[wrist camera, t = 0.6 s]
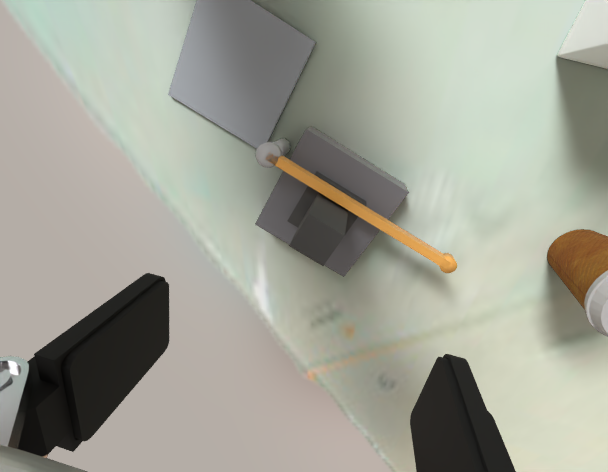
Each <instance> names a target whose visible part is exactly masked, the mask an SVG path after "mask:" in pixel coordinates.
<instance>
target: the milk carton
mask: <svg viewBox="0 0 608 472" xmlns="http://www.w3.org/2000/svg"><path fill="white" fill-rule="evenodd" d="M557 56H558V57H561V58H565V59H569V60H573V61H577V62H582V63H586V64H590V65H594V66H598V67H602V68H606V69H608V0H585V2H584V4H583V6H582V8H581V10H580V12H579V14H578V16H577V18H576V20H575V21H574V23H573V25H572V27H571V29H570V31H569V33H568V35H567V37H566V39H565V41H564V43H563V45H562V46H561V48H560V50H559V52H558V54H557Z"/></svg>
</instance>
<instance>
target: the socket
mask: <svg viewBox="0 0 608 472" xmlns="http://www.w3.org/2000/svg"><path fill="white" fill-rule="evenodd" d="M274 143H276V144H278V145H279V147H280V148H281V151H282V156H284V155H285V154H287V153H288V152H289V150H290V143H289V142H288V141H287V140H286V139H279V140H277V141H275V142H274ZM290 160H291V161H292V162H294V163H296V164H297V165H299V166H300V167H302V168H304V169H305V170H307V171H309V172H310V173H312V174H314V175H315V173H316V171H318V172H319V173H321V174H323V175H324V176H326V177H328V178H329V179H331V180H332V181H334V182H336V183H337V184H339V185H341V186H342V187H344V188H346V189H347V190H349V191H350V192H352V193H354V194H355V195H357V196H359V197H360V198H362V199H363V200H365V201H366V207H367V208H369V209H371V210H372V211H374V212H376V213H377V214H379V215H381V216H382V217H384V218H385V219H387V220H388V219H389V218H390V216H391V215H392V214H393V212H394V211H395V210H396V209H397V207H398V206H399V205H400V203H401V202H402V201H403V199H404V198H405V197H406V196H407V194H408V193H409V192H408V190H407V188H406V186H405V184H404V183H402V182H401V181H399V180H397V179H396V178H394V177H393V176H391V175H389V174H388V173H386V172H385V171H383V170H381V169H380V168H378V167H376V166H375V165H373V164H372V163H370V162H368V161H367V160H365V159H364V158H362V157H360V156H359V155H357V154H356V153H354V152H352V151H351V150H349V149H348V148H346V147H344V146H343V145H341V144H340V143H338V142H336V141H335V140H333V139H332V138H330V137H328V136H327V135H325V134H323V133H322V132H320V131H319V130H317V129H315V128H314V127H312V126H310V127H308V128H306V130H305V131H304V133H303V135H302V137H301V139H300V141H299V143H298V145H297V146H296V148H295V150H294V152H293V154H292V156H291V158H290ZM307 186H308V185H306V184H305V183H303V182H301V181H300V180H298V179H296V178H295V177H293V176H291V175H290V174H288V173H286V172H285V171H283V173H282V175H281V176H280V178H279V180H278V182H277V184H276V186H275V188H274V190H273V191H272V193H271V195H270V197H269V199H268V201H267V203H266V205H265V206H264V208H263V210H262V212H261V214H260V216H259V218H258V220H257V221H256V223H255V224H256V225H257V226H259V227H261V228H262V229H264V230H266V231H267V232H269V233H271V234H272V235H274V236H276V237H277V238H279V239H281V240H283V241H284V242H286V243H288V244H289V245H290V243H291V241H292V239H293V237H294V235H295V233H296V231H297V229H298V227H296V226H294V225H293V224H291V223H289V222H288V221H287V220H288V219H289V217H290V215H291V214H292V212H293V210H294V209H295V207H296V205H297V203H298V202H299V200H300V198H301V197H302V195H303V193H304V192H305V190H306V188H307ZM379 231H380V229H378V228H377V227H375V226H374V225H372V224H370V223H369V222H367V221H365V220H364V219H362V218H360V217H359V216H358V218H357V219H356V220H355V222H354V223H353V225H352V226H351V228H350V229H349V230H348V232H347V233H346V235H345V236H344V238H343V239H342V240H341V242H340V243H339V245H338V246H337V247H336V249H335V250H334V252H333V253H332V254H331V256H330V257H329V259H328V260H327V261H326V263H325V264H324V265H325V266H326V267H328V268H330V269H332V270H333V271H335V272H337V273H338V274H340V275H342V276H343V277H344V276H345V275H346V274H347V272H348V271H349V270H350V268H351V267H352V266H353V264H354V263H355V262H356V261H357V259H358V258H359V257H360V255H361V254H362V253H363V251H364V250H365V249H366V248H367V246H368V245H369V244H370V242H371V241H372V240H373V238H374V237H375V236H376V235H377V233H378V232H379Z"/></svg>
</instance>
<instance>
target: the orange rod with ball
mask: <svg viewBox="0 0 608 472" xmlns="http://www.w3.org/2000/svg"><path fill="white" fill-rule="evenodd" d="M256 159H257V161H258V163H259V164H260V165H262V166H263V167H272V166H274V165H275V166H277V167H278V168H280V169H282V170H283V171H285V172H286V173H288V174H290V175H291V176H293V177H295V178H296V179H298V180H300V181H301V182H303V183H305V184H306V185H308V186H309V187H311V188H313V189H314V190H316V191H318V192H319V193H321V194H323V195H324V196H326V197H328V198H329V199H331V200H332V201H334V202H336V203H337V204H339V205H341V206H342V207H344V208H346V209H347V210H349V211H351V212H352V213H354V214H355V215H357V216H359V217H360V218H362V219H364V220H365V221H367V222H369V223H370V224H372V225H374V226H375V227H377V228H378V229H380V230H382V231H383V232H385V233H387V234H388V235H390V236H392V237H393V238H395V239H397V240H398V241H400V242H402V243H403V244H405V245H406V246H408V247H410V248H411V249H413V250H415V251H416V252H418V253H420V254H421V255H423V256H425V257H426V258H428V259H429V260H431V261H433V262H434V263H436V264H438V265H439V266H440V269H441V270H442V271H443V272H445V273H451V272H453V271H455V270H456V268H457V263H456V261H455V260H454V258H453V256H452V255H451V254H448V253H444V254H443V253H441V252H439V251H438V250H436V249H434V248H433V247H431V246H430V245H428V244H426V243H425V242H423V241H421V240H420V239H418V238H417V237H415V236H413V235H412V234H410V233H408V232H407V231H405V230H403V229H402V228H400V227H399V226H397V225H395V224H394V223H392V222H390V221H389V220H387V219H385V218H384V217H382V216H381V215H379V214H377V213H376V212H374V211H372V210H371V209H369V208H367V207H366V206H364V205H363V204H361V203H359V202H358V201H356V200H354V199H353V198H351V197H349V196H348V195H346V194H345V193H343V192H341V191H340V190H338V189H336V188H335V187H333V186H332V185H330V184H328V183H327V182H325V181H323V180H322V179H320V178H318V177H317V176H315V175H314V174H312V173H310V172H309V171H307V170H305V169H304V168H302V167H300V166H299V165H297V164H296V163H294V162H292V161H291V160H289V159H287V158H286V157H284V156H282V151H281V148H280V147H279V145H278V144H276V143H274V142H266V143H263V144H261V145H260V146H259V147H258V148H257V150H256Z"/></svg>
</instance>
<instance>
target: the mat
mask: <svg viewBox="0 0 608 472" xmlns="http://www.w3.org/2000/svg"><path fill="white" fill-rule="evenodd" d="M315 44H316V42H315V41H313V40H312V39H310V38H309V37H307V36H306V35H304V34H303V33H301V32H299V31H298V30H296V29H295V28H293V27H292V26H290V25H289V24H287V23H285V22H284V21H282V20H281V19H279V18H278V17H276V16H275V15H273V14H271V13H270V12H268V11H267V10H265V9H264V8H262V7H261V6H259V5H257V4H256V3H254V2H253V1H251V0H197V1H196V4H195V7H194V11H193V14H192V17H191V21H190V24H189V27H188V30H187V34H186V37H185V40H184V44H183V47H182V50H181V53H180V57H179V60H178V63H177V67H176V70H175V73H174V77H173V80H172V83H171V86H170V90H169V93H168V95H170V96H171V97H173V98H175V99H176V100H178V101H179V102H181V103H183V104H184V105H186V106H188V107H189V108H191V109H193V110H194V111H196V112H198V113H199V114H201V115H202V116H204V117H206V118H207V119H209V120H211V121H212V122H214V123H216V124H217V125H219V126H220V127H222V128H224V129H225V130H227V131H229V132H230V133H232V134H234V135H235V136H237V137H239V138H240V139H242V140H243V141H245V142H247V143H248V144H250V145H252V146H253V147H255V148H258V147H259V146H260V145H261V144H263V143H266V142H268V141H269V139H270V137H271V135H272V133H273V130H274V128H275V126H276V124H277V122H278V120H279V118H280V116H281V114H282V112H283V110H284V108H285V106H286V104H287V102H288V100H289V97H290V95H291V93H292V91H293V89H294V87H295V85H296V83H297V81H298V79H299V77H300V75H301V73H302V71H303V69H304V67H305V64H306V62H307V60H308V58H309V56H310V54H311V52H312V50H313V48H314V46H315Z"/></svg>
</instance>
